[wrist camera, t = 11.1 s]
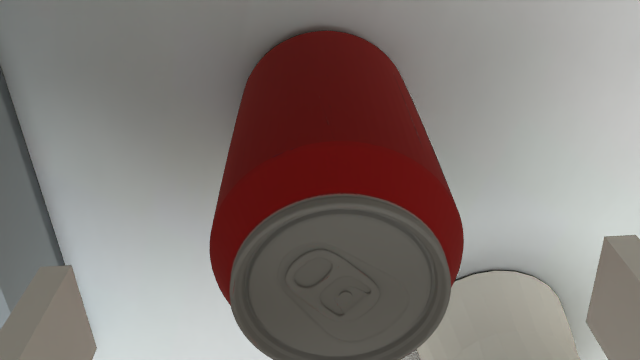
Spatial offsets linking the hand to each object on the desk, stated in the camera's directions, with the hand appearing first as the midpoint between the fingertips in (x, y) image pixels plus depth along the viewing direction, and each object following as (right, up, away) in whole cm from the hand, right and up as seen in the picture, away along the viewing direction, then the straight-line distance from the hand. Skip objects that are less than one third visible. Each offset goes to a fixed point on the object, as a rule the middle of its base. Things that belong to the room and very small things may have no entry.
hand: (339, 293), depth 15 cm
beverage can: (0, +6, +10) cm, 12 cm away
